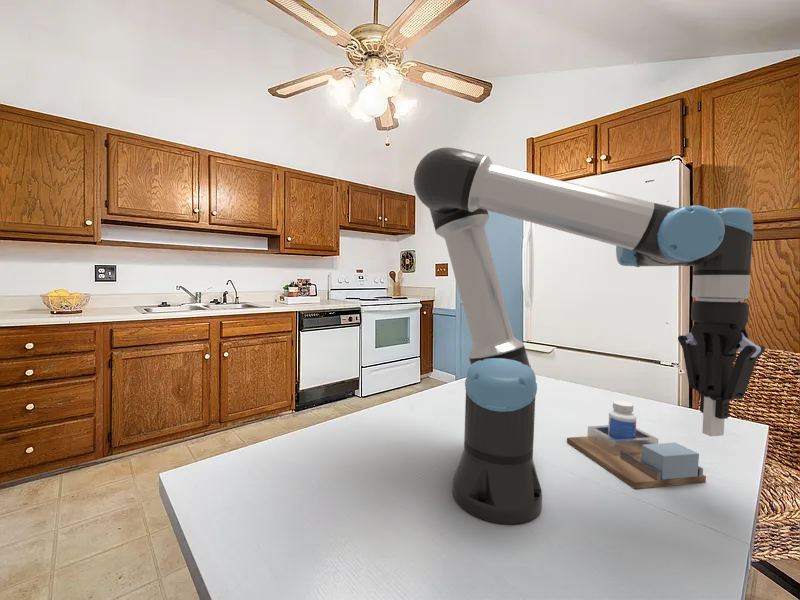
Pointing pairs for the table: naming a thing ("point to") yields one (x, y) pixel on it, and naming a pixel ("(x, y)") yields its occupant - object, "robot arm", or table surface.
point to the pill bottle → (622, 421)
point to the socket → (619, 440)
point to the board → (625, 466)
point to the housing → (671, 460)
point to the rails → (646, 466)
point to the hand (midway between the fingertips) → (712, 434)
